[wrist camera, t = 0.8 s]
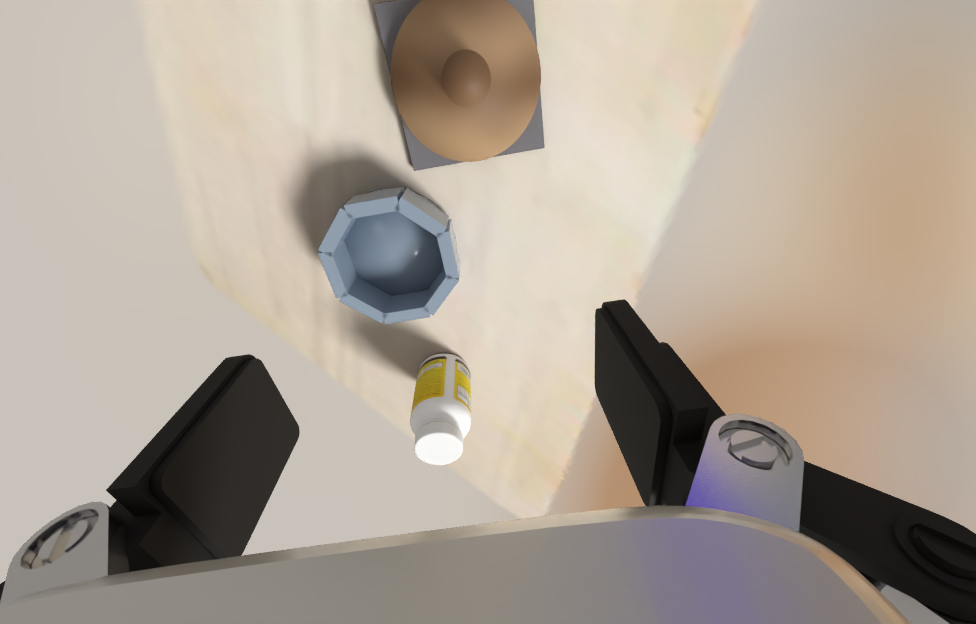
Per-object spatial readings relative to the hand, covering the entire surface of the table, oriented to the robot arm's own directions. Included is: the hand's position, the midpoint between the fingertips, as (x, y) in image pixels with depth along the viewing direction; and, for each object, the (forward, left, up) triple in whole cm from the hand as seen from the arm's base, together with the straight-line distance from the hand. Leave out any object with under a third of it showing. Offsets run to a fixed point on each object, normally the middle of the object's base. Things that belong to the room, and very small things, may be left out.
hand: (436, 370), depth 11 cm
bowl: (+4, -6, -23) cm, 24 cm away
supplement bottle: (+18, -5, -23) cm, 29 cm away
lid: (-7, +2, -22) cm, 23 cm away
